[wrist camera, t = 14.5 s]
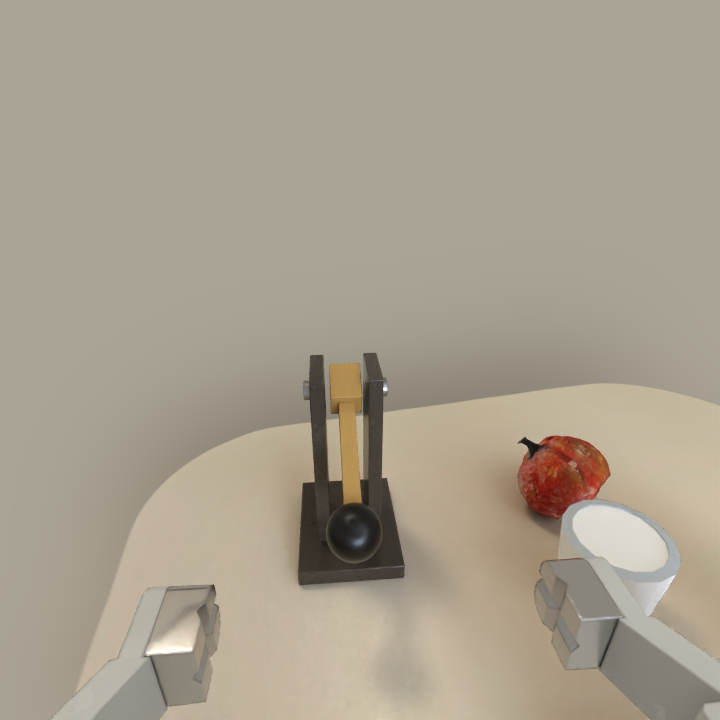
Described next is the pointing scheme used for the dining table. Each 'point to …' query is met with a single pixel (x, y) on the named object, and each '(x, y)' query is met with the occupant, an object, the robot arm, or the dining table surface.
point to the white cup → (622, 546)
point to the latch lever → (350, 474)
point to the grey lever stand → (328, 495)
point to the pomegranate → (560, 474)
